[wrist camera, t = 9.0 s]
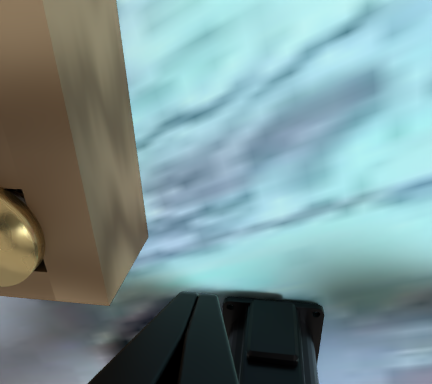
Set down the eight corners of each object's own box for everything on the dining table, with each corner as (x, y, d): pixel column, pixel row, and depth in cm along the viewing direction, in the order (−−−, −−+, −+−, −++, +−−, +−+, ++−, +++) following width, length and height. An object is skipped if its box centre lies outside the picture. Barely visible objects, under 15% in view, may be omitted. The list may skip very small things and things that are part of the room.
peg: (106, 219, 22) (47, 291, 16) (29, 215, 23) (-53, 282, 17) (90, 138, 19) (15, 189, 14) (5, 136, 20) (-99, 184, 15)
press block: (148, 236, 22) (109, 305, 17) (6, 228, 24) (-70, 289, 19) (93, -166, 14) (-18, -275, 9) (-122, -141, 15) (-330, -222, 10)
